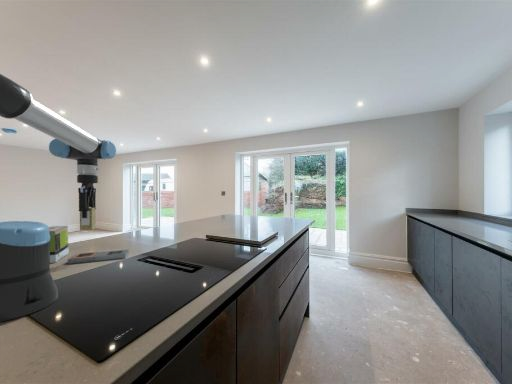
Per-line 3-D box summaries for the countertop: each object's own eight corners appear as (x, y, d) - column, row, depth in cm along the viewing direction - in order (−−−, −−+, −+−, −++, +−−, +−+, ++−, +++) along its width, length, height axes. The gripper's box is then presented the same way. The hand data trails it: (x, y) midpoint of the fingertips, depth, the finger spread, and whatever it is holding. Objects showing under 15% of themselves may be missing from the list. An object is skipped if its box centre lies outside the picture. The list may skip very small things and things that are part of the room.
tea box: (43, 256, 103) (42, 226, 103) (69, 253, 107) (69, 225, 107) (25, 266, 89) (25, 232, 89) (56, 263, 93) (55, 230, 93)
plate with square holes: (125, 258, 100) (125, 253, 100) (67, 263, 92) (67, 258, 92) (128, 253, 107) (128, 248, 107) (75, 258, 99) (75, 253, 99)
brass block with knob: (91, 229, 96) (91, 207, 96) (79, 230, 95) (79, 207, 95) (95, 228, 100) (95, 206, 100) (84, 228, 99) (84, 206, 99)
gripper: (89, 173, 91) (89, 226, 91) (103, 176, 107) (103, 221, 107) (68, 172, 88) (68, 227, 88) (85, 175, 104) (85, 222, 104)
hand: (87, 224), depth 98 cm, fingers closed on brass block with knob, 4 cm apart
